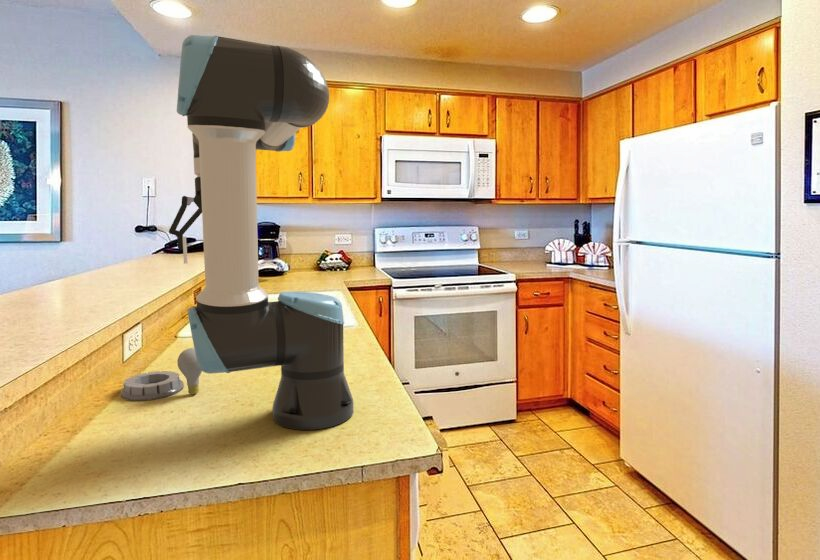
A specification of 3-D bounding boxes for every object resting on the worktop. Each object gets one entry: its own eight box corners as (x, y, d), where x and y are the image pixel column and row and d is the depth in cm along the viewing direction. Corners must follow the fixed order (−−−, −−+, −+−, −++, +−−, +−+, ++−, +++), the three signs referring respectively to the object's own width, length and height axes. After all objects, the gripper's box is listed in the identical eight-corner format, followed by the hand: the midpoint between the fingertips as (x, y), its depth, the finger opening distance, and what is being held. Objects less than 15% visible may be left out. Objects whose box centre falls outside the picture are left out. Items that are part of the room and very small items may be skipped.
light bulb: (199, 388, 108) (197, 343, 107) (212, 393, 105) (210, 348, 103) (174, 395, 104) (171, 348, 103) (187, 401, 100) (184, 353, 99)
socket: (183, 395, 103) (182, 383, 103) (117, 404, 99) (116, 392, 98) (183, 378, 114) (183, 367, 114) (124, 385, 110) (123, 374, 109)
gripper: (261, 179, 131) (264, 259, 134) (155, 176, 121) (161, 262, 124) (264, 177, 124) (267, 261, 127) (153, 173, 114) (159, 265, 117)
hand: (215, 262), depth 125 cm, fingers open, 13 cm apart
